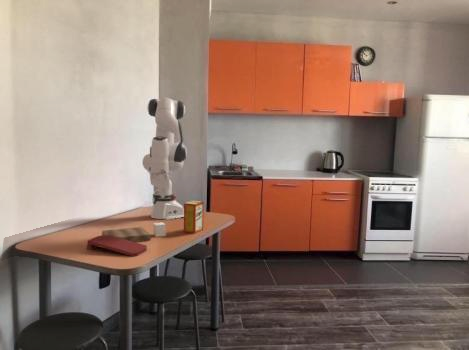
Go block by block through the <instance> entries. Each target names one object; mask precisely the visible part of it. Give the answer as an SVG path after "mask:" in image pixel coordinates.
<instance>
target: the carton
mask: <svg viewBox="0 0 469 350" xmlns="http://www.w3.org/2000/svg"><path fill="white" fill-rule="evenodd" d="M98 247H100V248H101V249H102V248H103V249H106V250H110V251H113V252H117V253H119V254H123V255H126V256H131V257H136V256H139V255H141V254H143V253H144V252H146V251H147V245H145V244H142V243H140V242H132V241H129V240H125V239H122V238H118V237H115V236H111V235H102V234H101V235H97V236H95V237H93V238H90V239H88V240H87V243H86V249H87V250H93V249H95V248H98Z"/></svg>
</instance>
